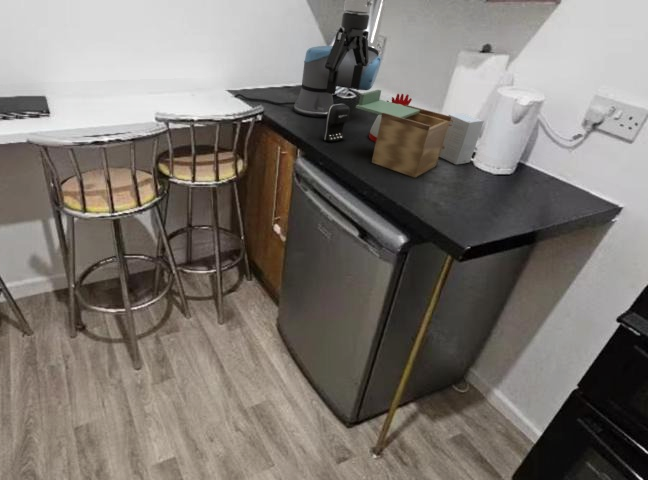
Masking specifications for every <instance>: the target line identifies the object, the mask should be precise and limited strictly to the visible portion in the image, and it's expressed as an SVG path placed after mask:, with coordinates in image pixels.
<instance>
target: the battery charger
mask: <svg viewBox="0 0 648 480" xmlns="http://www.w3.org/2000/svg"><path fill="white" fill-rule="evenodd" d="M333 104H334V103H333ZM350 110H351V109H350V107H349V106H348V105H346V104H345V103H335V104H334V105H331V106H330V107H329V109H328V113H327V117H326V119H325V120H326V121H325V127H324V135H323V140H324V141H326V142H330V143H333V142H339V141H343V140H344V133H343V131H344V126H345V123H349V122H348V121H349V117H350V112H351V111H350Z"/></svg>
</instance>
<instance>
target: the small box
mask: <svg viewBox="0 0 648 480" xmlns="http://www.w3.org/2000/svg"><path fill="white" fill-rule="evenodd" d="M448 116H451V120H450V123H449V126H448V129H447V132H446V135H445V139H444V142H443V145H442V148H441V152H440V155H439V158H441V159H443V160H445V161H447V162H450V163H452V164H454V166H455V165H456V166H457V165H462V164H468V163H469V164H470V163H471V161H472V157H473V155H474V152H475V148H476V145H477V143H478V140H479V136H480V134H481V131H482V128H483V124H484V122H485V120H482V119H480V118H477V117H474V116H472V115H469V114H466V113H450V114H448Z"/></svg>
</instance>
